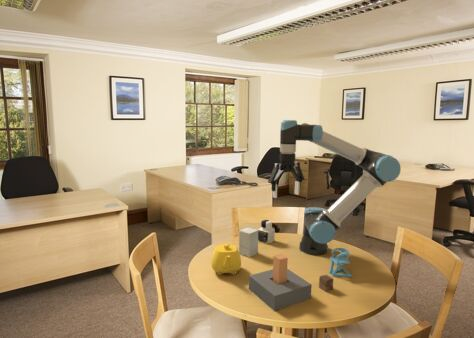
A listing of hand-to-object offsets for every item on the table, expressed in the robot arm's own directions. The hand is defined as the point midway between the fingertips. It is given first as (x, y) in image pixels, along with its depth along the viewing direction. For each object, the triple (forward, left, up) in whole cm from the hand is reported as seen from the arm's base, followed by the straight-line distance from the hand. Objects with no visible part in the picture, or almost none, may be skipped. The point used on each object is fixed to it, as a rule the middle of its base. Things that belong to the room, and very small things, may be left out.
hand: (285, 195), depth 168 cm
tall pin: (+22, +26, -33) cm, 47 cm away
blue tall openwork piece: (-13, +25, -33) cm, 43 cm away
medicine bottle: (-6, -24, -33) cm, 41 cm away
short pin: (+2, +32, -33) cm, 46 cm away
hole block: (+22, +26, -33) cm, 47 cm away
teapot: (+32, -1, -33) cm, 46 cm away
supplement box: (+12, -14, -33) cm, 38 cm away
